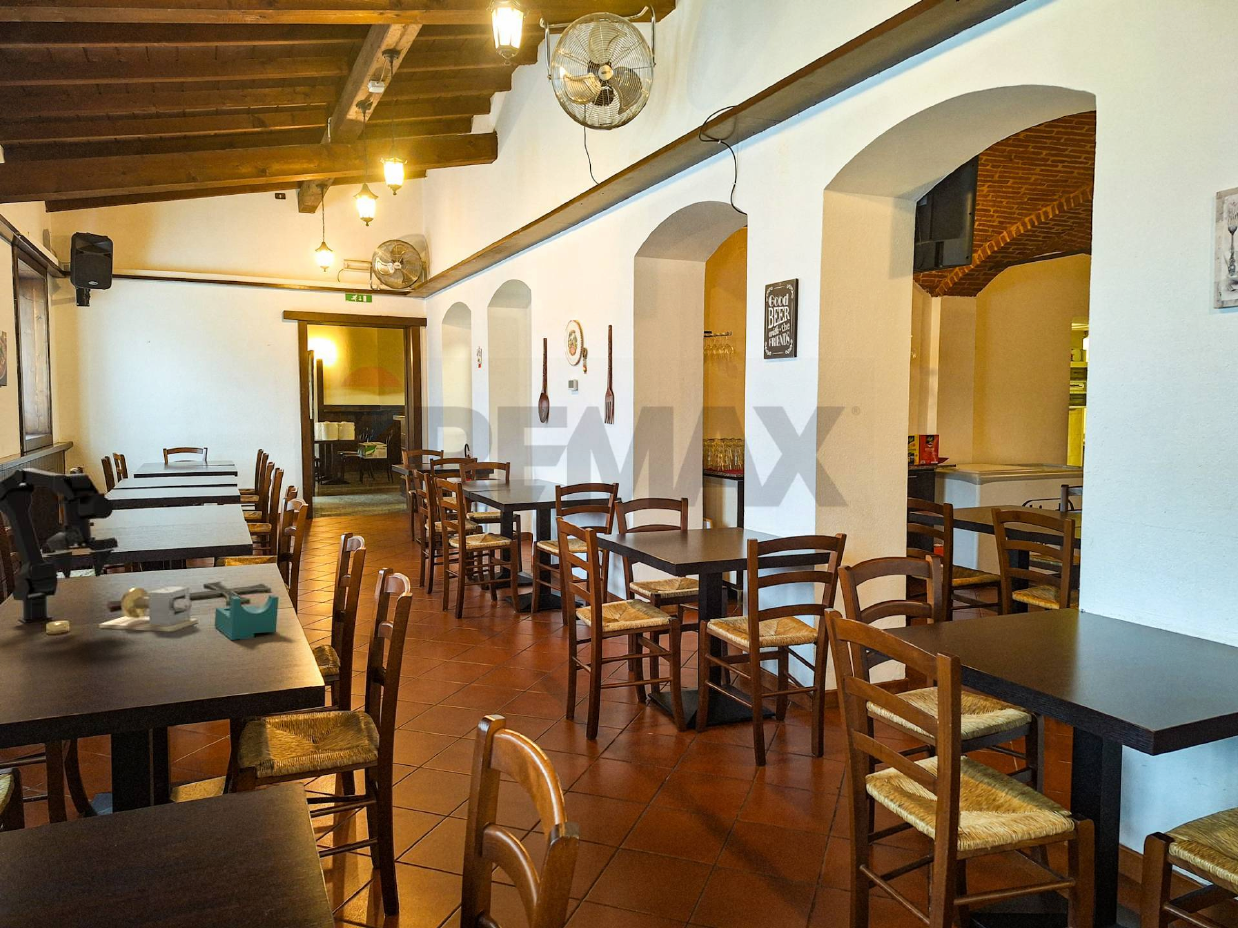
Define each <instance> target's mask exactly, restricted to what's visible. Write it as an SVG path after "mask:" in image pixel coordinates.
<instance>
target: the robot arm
mask: <svg viewBox="0 0 1238 928" xmlns="http://www.w3.org/2000/svg"><path fill="white" fill-rule="evenodd" d="M37 486H38V487H43V488H49V489H51V490H53V492H54V493H55V494H58V495H60V496H61V497H62V498H60V500H58V502H57V505H63V516H64V524H63V525H61V527H60V532H58V533H56V534H55V535H53V536H50V537H49V538H48V539H47V540H46V541H47V542H45V543H43V544H42V546H41V547H40V544H39V540H38V539H37V534H36V532H35V531H36V530H35V528H34V525H33V522H32V518H31V515H30V508H31V506H32V504H33V496H32V495H33V494H34V493H35V492H36V491H37ZM0 512H2V514H4V515H5V516H6V517H7V519H8V523H9V525H10V529H11V533H12V535H13V538H14V539H13V540H14V542H15V546H16V549H17V553H18V554H19V558H20V562H21V568H20V570H19V573H18V581H19V582H18V584H17V585H16V587H15V588H14V589H13V590H12V592H11V593H12V597H13V600H15V601H21V602H22V616H20V617H17V618H18V620H19V621H21V622H23V623H31V622H38V621H44V620H45V621H46V620H50V619H53V616H52V615H49V613H48V597H49V596H55V595H56V592H57V588H58V584H59V583H58V582H59V578H58V577H59V575H58V573H57V571H56V567H55V566H56V565H55V564H54V563H53V562H47V561H46V560H45V559H44V557H43V555H44V554H45V555H46V557H49V558H50V559H53V560H54V561H55V562H56V563H57V565H58V567H59V569H60V571H61V572H62V574H63V576H64V577H65V579H70V578H71V573H72V559H73V551H71V550H85V549H89V550H91V551H89V552H88V554H89V555H90V557H92V560H93V569H94V575H95V577H100V576H101V574H102V572H103V569H104V567H105V565H106V563H107V560H108V559H109V556H110V555H111V553H112V552H114V551H115V549H117V548H119V545H118V543H119V542H118V540H117V538H115V537H105V538H103V537H102V538H97V539H96V537H95V536H94V537H92V530H91V529H92V528H91V527H94V526H95V522H94V521H92V522H91V520H100V519H101V520H102V519H103V520H104V519H107V518H109V517H110V516H111V515H112V513H113V512H114V506H113V503H112V501H111V500H110V499H108V498H107V497H106V496H105V493H104V492H102V493H100V491H99V489H98V488H97V487H96V485H95V484H94V483H93V481H92V479H90V476H89V475H88V474H87V473H71V474H70V473H68V474H63V473H57V472H52V471H47V470H42V469H37V468H34V467H29V468H28V467H27V468H19V469H16V470H15V471H14V472H13V473H12V475H10V476H8V477H6V478H5V479H2V480H1V481H0ZM75 544H76V545H75Z"/></svg>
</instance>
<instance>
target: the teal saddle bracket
mask: <svg viewBox="0 0 1238 928" xmlns="http://www.w3.org/2000/svg"><path fill="white" fill-rule="evenodd" d="M242 605H243V604H241V602H240V598H239V597H237V596H232V597H231V601H230V605H229V606H221V607H219V606H218V607H215V617H214V627H215V628H216V629H217V630H219V631H220V632H221V633H222V634H223V635H224V636H226V637H227V638H229V640H230V641H236V639H240V640H247V639H246V638H250V639H254V638H255V634H257V633H258V634H259V633H260V634H261V633H275V632H277V625H278V624H277V622H278V621H277V620H278V612H279V611H278V607H279V596H277V595H276V594H269V595H268V598H267V601H266V602H265V603H264V605H263V606H259V605H245V606H244V605H243V606H242Z"/></svg>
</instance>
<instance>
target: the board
mask: <svg viewBox="0 0 1238 928" xmlns="http://www.w3.org/2000/svg"><path fill="white" fill-rule="evenodd" d="M197 623H198V618H190V620H187V621H185V622H182V623H179V624H176V625H173V626H170V627H166V626H150V621H149V616H145V615H143V616H141V617H139V618H130V617H126V616H125V615H124V616H122V617H119V618H114V619H111V620H108V621H105V622H102V623H99V624H98V626H99V627H98V628H100V629H115V630H116V629H117V630H135V631H136V630H137V631H151V630H156V631H157V630H159V631H157V632H171V631H172V632H175V631H178V630H180V629H182V628H183V627H184V628H186V627H190V626H191V625H195V624H197ZM184 628H183V629H184ZM160 630H161V631H160ZM174 630H175V631H174Z"/></svg>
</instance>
